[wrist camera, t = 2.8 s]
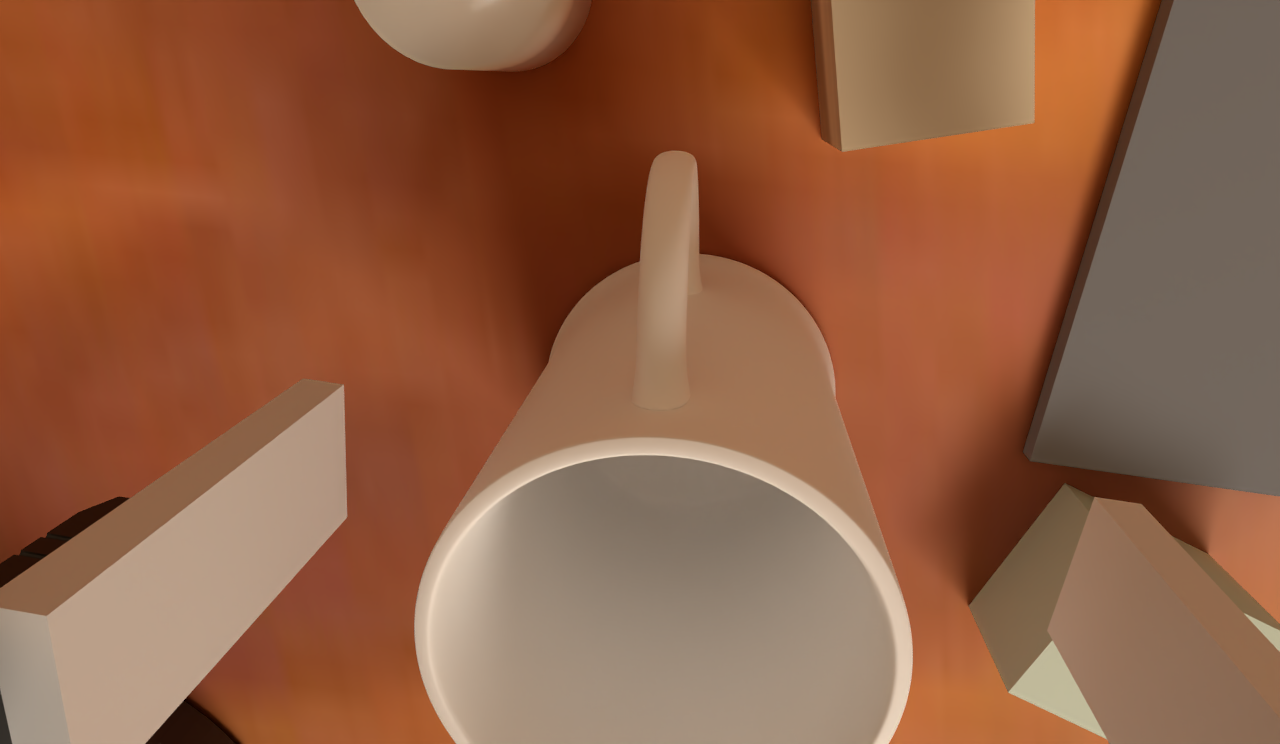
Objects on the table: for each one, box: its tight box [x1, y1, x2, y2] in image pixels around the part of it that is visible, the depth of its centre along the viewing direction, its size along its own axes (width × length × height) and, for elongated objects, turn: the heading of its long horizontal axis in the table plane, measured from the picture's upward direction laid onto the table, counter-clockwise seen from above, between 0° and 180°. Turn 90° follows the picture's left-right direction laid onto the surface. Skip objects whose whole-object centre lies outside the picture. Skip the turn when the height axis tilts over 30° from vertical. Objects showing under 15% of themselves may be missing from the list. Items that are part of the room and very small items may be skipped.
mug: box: [414, 151, 913, 744], centre depth 18 cm, size 12×8×12 cm
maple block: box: [811, 0, 1035, 152], centre depth 19 cm, size 4×4×4 cm
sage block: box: [969, 483, 1280, 739], centre depth 23 cm, size 5×5×4 cm
